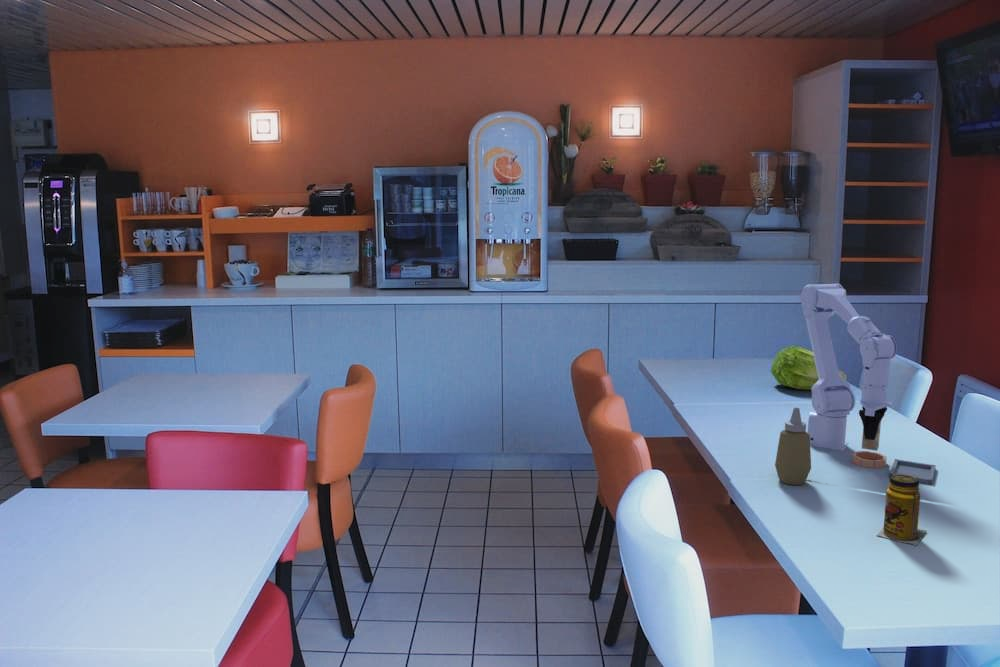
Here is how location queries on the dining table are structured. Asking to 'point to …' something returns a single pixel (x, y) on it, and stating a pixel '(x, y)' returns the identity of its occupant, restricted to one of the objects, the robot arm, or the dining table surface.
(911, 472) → the slate tray
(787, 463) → the squeeze bottle
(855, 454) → the terracotta octagonal bowl
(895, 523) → the condiment
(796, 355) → the lettuce
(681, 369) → the dining table surface
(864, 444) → the beech peg
